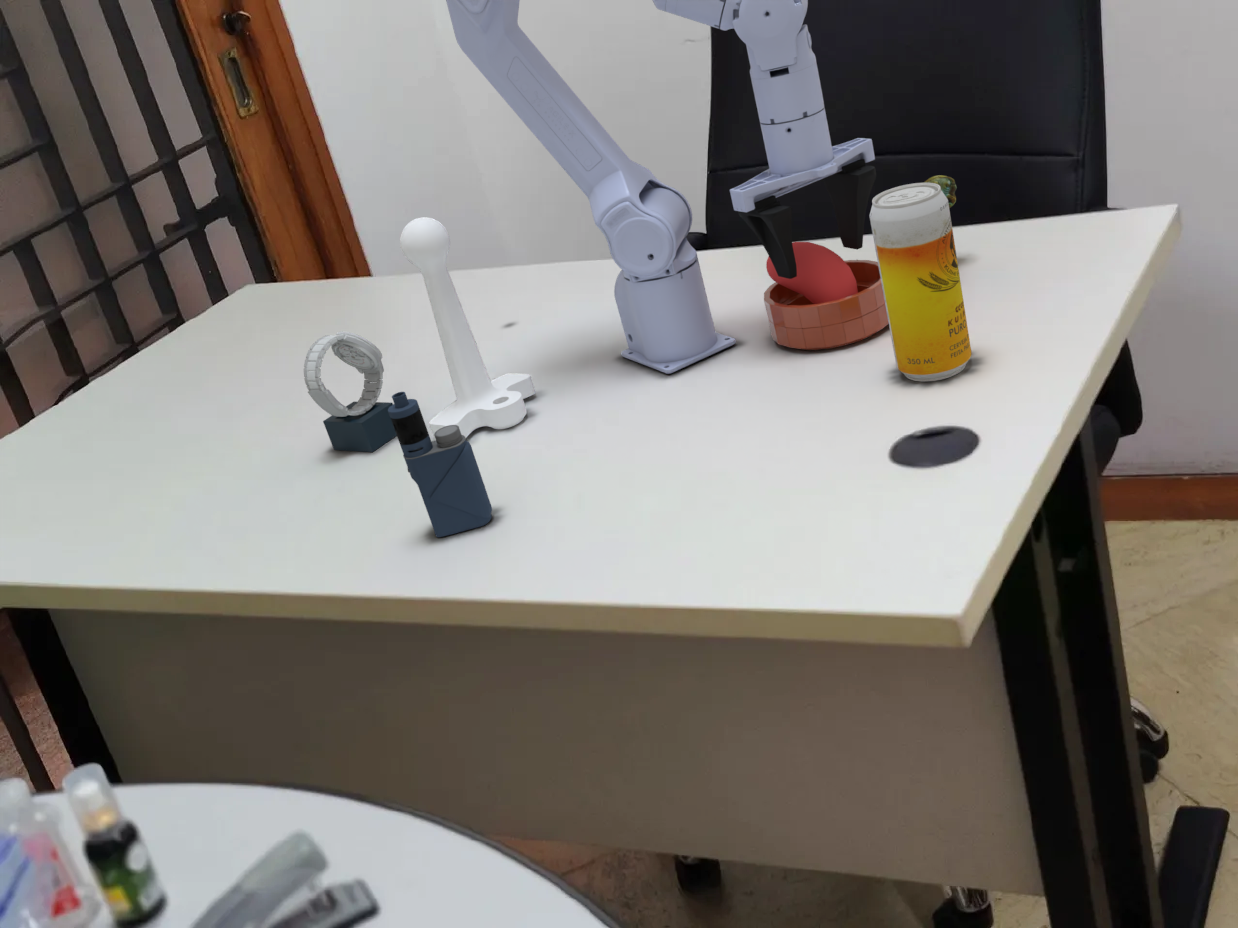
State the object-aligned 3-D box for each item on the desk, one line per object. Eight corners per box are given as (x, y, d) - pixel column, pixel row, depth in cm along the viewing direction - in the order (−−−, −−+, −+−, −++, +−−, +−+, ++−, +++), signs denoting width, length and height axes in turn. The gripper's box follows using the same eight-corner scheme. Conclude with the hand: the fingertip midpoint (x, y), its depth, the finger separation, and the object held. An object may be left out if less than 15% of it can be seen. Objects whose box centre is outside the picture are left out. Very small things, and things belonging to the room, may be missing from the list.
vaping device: (432, 526, 104) (384, 393, 99) (495, 509, 104) (449, 375, 99) (430, 541, 102) (381, 405, 97) (494, 523, 102) (448, 386, 97)
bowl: (749, 340, 124) (739, 296, 122) (844, 296, 128) (835, 253, 126) (823, 363, 114) (814, 315, 112) (923, 315, 118) (915, 268, 116)
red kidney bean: (803, 274, 126) (788, 222, 122) (877, 297, 120) (864, 243, 116) (769, 306, 124) (753, 255, 120) (842, 331, 118) (828, 278, 114)
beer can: (974, 377, 103) (946, 197, 97) (897, 389, 105) (865, 212, 99) (971, 348, 108) (944, 175, 102) (898, 360, 110) (867, 190, 104)
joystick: (507, 392, 128) (445, 198, 120) (561, 397, 123) (500, 195, 115) (427, 444, 121) (355, 241, 113) (481, 450, 116) (410, 239, 108)
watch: (415, 422, 127) (379, 319, 123) (359, 460, 121) (319, 354, 117) (376, 420, 130) (339, 320, 126) (320, 458, 125) (279, 354, 120)
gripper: (750, 143, 107) (783, 296, 112) (885, 90, 112) (910, 239, 117) (705, 139, 113) (738, 284, 118) (835, 89, 118) (860, 231, 123)
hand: (820, 261), depth 118 cm, fingers open, 7 cm apart
